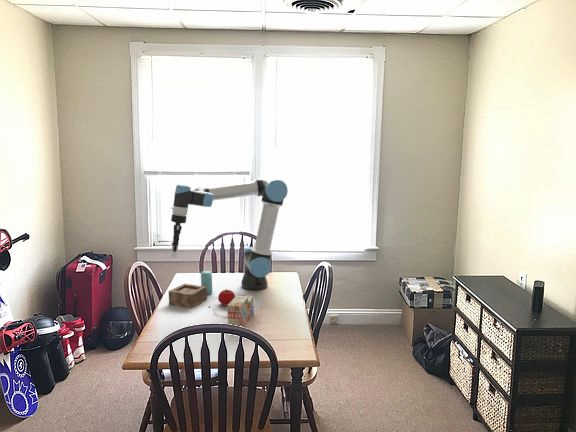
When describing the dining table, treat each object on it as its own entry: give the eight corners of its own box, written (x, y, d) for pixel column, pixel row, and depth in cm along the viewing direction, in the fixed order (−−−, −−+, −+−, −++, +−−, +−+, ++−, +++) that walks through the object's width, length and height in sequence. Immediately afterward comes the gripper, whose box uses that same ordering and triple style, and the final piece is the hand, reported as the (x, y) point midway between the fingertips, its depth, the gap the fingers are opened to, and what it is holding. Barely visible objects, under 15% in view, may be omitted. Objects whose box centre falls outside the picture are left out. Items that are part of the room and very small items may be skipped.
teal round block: (214, 292, 280) (213, 271, 278) (208, 295, 275) (207, 274, 273) (205, 290, 283) (204, 270, 280) (199, 294, 277) (198, 273, 275)
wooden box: (206, 299, 268) (206, 286, 267) (191, 308, 256) (191, 294, 254) (185, 296, 274) (184, 283, 273) (169, 304, 261) (168, 291, 260)
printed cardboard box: (241, 313, 249) (241, 289, 247) (253, 314, 248) (253, 290, 246) (227, 330, 229) (227, 304, 226) (241, 331, 227) (240, 305, 225)
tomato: (214, 304, 262) (214, 289, 260) (227, 299, 268) (227, 285, 267) (225, 308, 256) (225, 293, 254) (238, 303, 262) (238, 289, 261)
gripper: (172, 210, 271) (166, 249, 273) (171, 216, 247) (165, 259, 248) (186, 212, 272) (180, 251, 274) (187, 218, 248) (181, 260, 250)
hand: (173, 254), depth 261 cm, fingers open, 13 cm apart
